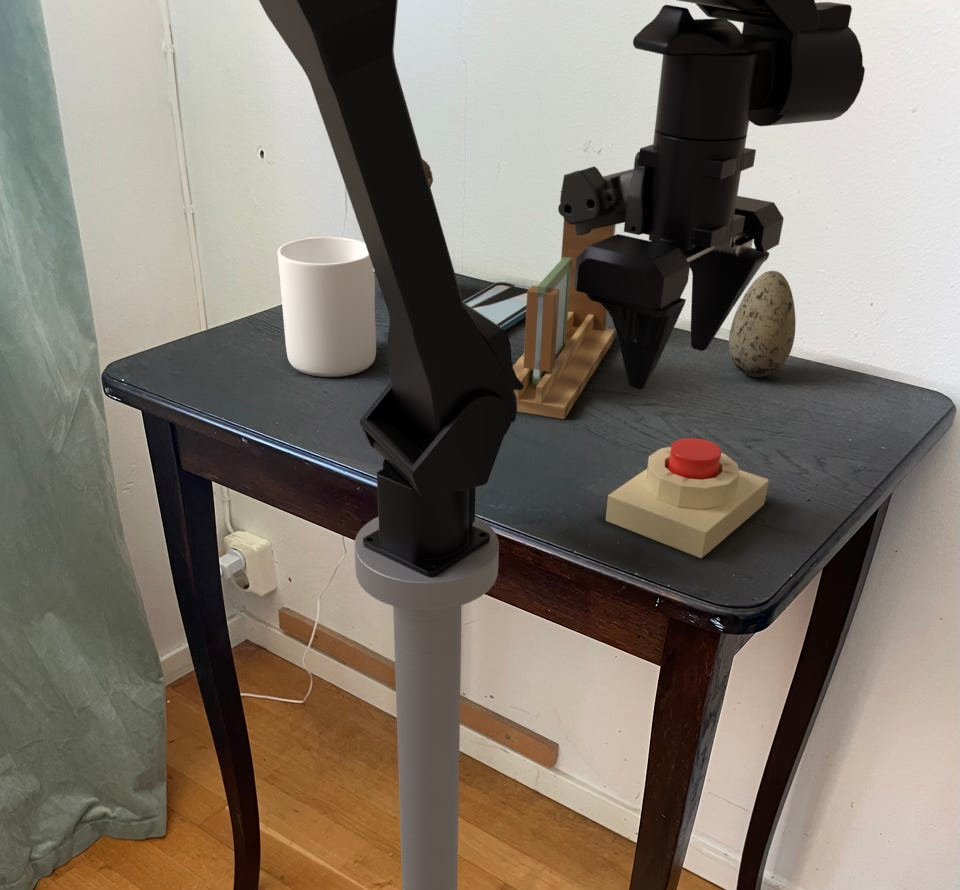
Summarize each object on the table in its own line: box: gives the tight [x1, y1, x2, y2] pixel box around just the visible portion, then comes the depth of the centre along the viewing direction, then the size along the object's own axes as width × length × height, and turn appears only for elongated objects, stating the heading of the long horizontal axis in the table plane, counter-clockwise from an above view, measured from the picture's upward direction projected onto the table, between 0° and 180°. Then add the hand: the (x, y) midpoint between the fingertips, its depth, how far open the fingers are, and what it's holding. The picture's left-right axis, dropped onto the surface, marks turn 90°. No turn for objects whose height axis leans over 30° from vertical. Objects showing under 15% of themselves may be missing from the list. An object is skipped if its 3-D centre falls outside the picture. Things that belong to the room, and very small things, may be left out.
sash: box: [523, 257, 572, 386], centre depth 93 cm, size 9×2×9 cm, turn 162°
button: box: [668, 437, 722, 480], centre depth 74 cm, size 4×4×2 cm
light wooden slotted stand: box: [513, 219, 617, 420], centre depth 95 cm, size 20×7×13 cm, turn 162°
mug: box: [277, 236, 377, 378], centre depth 97 cm, size 9×12×11 cm
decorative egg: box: [728, 270, 797, 378], centre depth 96 cm, size 6×6×10 cm
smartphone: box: [463, 281, 531, 330], centre depth 111 cm, size 7×1×15 cm
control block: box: [605, 446, 770, 559], centre depth 76 cm, size 10×8×4 cm
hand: (668, 367), depth 73 cm, fingers open, 9 cm apart
